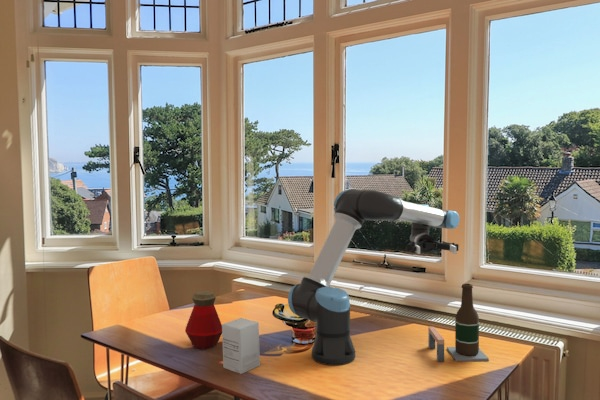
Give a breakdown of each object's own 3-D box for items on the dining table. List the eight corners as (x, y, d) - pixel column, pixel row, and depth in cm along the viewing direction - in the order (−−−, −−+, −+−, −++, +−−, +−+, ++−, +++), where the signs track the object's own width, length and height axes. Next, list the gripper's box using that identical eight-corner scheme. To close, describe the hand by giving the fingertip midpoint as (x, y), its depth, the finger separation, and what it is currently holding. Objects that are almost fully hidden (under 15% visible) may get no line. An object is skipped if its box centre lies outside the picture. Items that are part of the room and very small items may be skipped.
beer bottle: (480, 357, 166) (480, 287, 165) (456, 355, 168) (456, 286, 166) (477, 349, 174) (477, 282, 172) (454, 347, 175) (454, 281, 174)
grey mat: (455, 361, 165) (455, 358, 165) (446, 349, 176) (446, 347, 176) (488, 360, 165) (488, 358, 165) (477, 349, 176) (477, 346, 176)
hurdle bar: (438, 344, 165) (438, 339, 165) (428, 330, 179) (428, 326, 179) (444, 344, 165) (444, 339, 165) (433, 330, 179) (433, 326, 179)
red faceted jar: (177, 344, 186) (176, 292, 185) (207, 335, 196) (206, 286, 194) (201, 355, 175) (199, 299, 174) (231, 345, 184) (230, 292, 183)
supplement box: (242, 359, 170) (240, 317, 169) (260, 365, 165) (259, 321, 164) (222, 367, 163) (221, 323, 162) (241, 374, 158) (239, 328, 157)
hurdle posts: (438, 361, 165) (438, 344, 165) (428, 346, 179) (428, 330, 179) (444, 361, 165) (444, 344, 165) (433, 346, 179) (433, 330, 179)
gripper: (454, 251, 207) (470, 260, 186) (395, 251, 208) (404, 260, 187) (454, 233, 207) (470, 240, 186) (395, 234, 208) (404, 240, 186)
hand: (437, 250), depth 186 cm, fingers open, 13 cm apart
